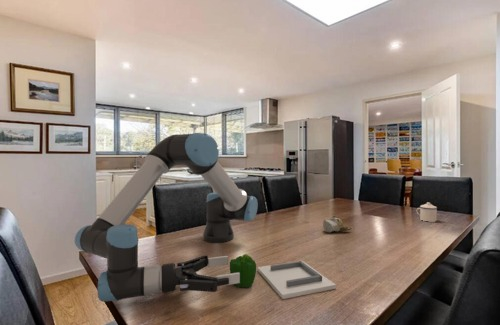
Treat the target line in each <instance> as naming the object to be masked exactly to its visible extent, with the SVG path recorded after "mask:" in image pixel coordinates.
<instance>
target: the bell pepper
mask: <svg viewBox="0 0 500 325" xmlns="http://www.w3.org/2000/svg"><path fill="white" fill-rule="evenodd" d="M229 272H230V273H229V274H232V273H240V283H236V284H233V286H235V287H237V288H240V287H242V288H250V287H251V286H252V285H253V284H254V282H255V279H256V275H257V262H256V260H254V259H253V257H252V256H250V255H249V254H246V253H245V254H243V255H240V256H237V257H236V258H233V259H231V260H230V261H229Z"/></svg>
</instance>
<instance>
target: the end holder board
mask: <svg viewBox="0 0 500 325" xmlns="http://www.w3.org/2000/svg"><path fill="white" fill-rule="evenodd" d="M257 272H258V273H259V274H260V276H262V277H263V278H264V280H265V281H266V282H267V284H269V285H270V286H271V288H272V289H273V290H274V291H275V292H276V294H278V296H279V297H280V298H281V299H282V300H285V299H289V298H295V297H299V296H305V295H311V294H315V293H321V292H326V291H329V290H334V289H335V290H336V288H337V284H336V283H334V282H333V281H331V280H330V279H329V278H327V277H326V276H325V275H323V274H321V273H320V272H319V271H318V270H316V269H315V268H313V267H312V266H310V265H309V264H308V263H306V262H305V261H304V260H298V261H292V262H284V263H278V264H270V265H262V266H258V267H257Z"/></svg>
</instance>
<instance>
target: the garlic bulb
mask: <svg viewBox="0 0 500 325" xmlns="http://www.w3.org/2000/svg"><path fill="white" fill-rule="evenodd" d="M322 222H323V223H322V225H323V226H322V229H323V231H324V232H326V233H327V232H328V233H327V234H330V233H332V232H334V231H335V232H336V233H337V232H348V231H350V230H351V229H352V227H348V226H347V225H344V223H343V221H342V219H341V218H338V217H336V216H335V215H333V216H330V217H329V220H327V219H323V221H322Z"/></svg>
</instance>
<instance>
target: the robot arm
mask: <svg viewBox="0 0 500 325" xmlns="http://www.w3.org/2000/svg"><path fill="white" fill-rule="evenodd" d="M218 147H219V146H218V143H217V141H216V139H215V138H214V137H213V136H212V135H210V134H208V133H205V132H202V133H201V132H194V133H184V134H183V133H182V134H171V135H169V136H167V137H165V138H164V139H162V140H161V141H160V142H158V143H157V144H156V145H154V147H153V148H151V150H150V151H149V152H148V153H147V154H146V155H145V156H144V162H143V163H142V165H141V166H140V167H139V168H138V170H137V171H136V172H135V174H133V176H132V177H131V178H130V179H129V180H128V181H127V183H126V184H125V185H124V186H123V188H122V189H121V190H120V191H119V193H117V194H116V196H115V197H114V199H112V201H111V202H110V203H109V204H108V205H107V207H106V208H105V209H104V210H103V211H102V213H100V215H99V216H98V217H97V218H96V219H95V221H94V222H93V223H92V224H91V225H85V226H83V227H80V229H79V230H78V231H77V232H76V234H75V236H74V244H75V246H76V247H77V249H79V250H81V251H83V252H84V253H86V254H91V255H94V256H97V257H101V258H104V259H106V260H107V262H106V263H107V264H106V267H107V270H106V271H102V272H101V273H100V274H99V276H98V281H97V290H96V291H97V298H98V301H101V302H105V303H106V302H112V301H113V302H114V301H116V302H117V301H120V300H125V299H131V298H137V297H138V298H139V297H145V296H149V297H151V296H152V295H155V294H156V295H157V294H159V293H160V291H161V292H162V293H163V294H164V293H170V292H175V291H176V288H177V286H179V291H180V292H184V291H186V292H187V291H191V292H193V291H194V292H207V293H209V292H210V293H216V292H217V291H218V287H222V286H223V287H224V286H229V285H234V284H236V283H240V273H232V274H230V273H227V274H220V275H219V274H218V275H216V277H213V276H208V275H204V274H203V275H202V274H199V273H197V272H199V271H201V270H202V269H204V268H207V267H208V268H213V267H220V266H227V265H229V256H228V255H225V256H224V255H223V256H214V257H209V256H208V255H207V254H206V255H201V256H198V257H195V258H192V259H190V260H186V261H181V262H178V263H176V264H175V263H174V262H170V263H169V262H168V263H163V264H162V265H161V266H160V264H153V265H147V266H139V261H138V260H139V254H138V253H139V251H138V250H139V237H138V235H139V234H138V228H137V226H135V225H134V224H132V223H131V224H130V223H129V224H126V223H127V222H128V220H129V219H130V218H131V216H132V215H133V214H134V212H135V211H136V210H137V208H139V206H140V204H142V202H143V201H144V199H145V198H146V197H147V196H148V195H149V193H150V191H151V190H152V189H153V187H154V186H155V185H156V183H157V182H158V181H159V180H160V178H161V177H162V176H163V174H168V172H169V171H170V170H171V169H172V168H173V167H175V166H184V167H185V166H186V167H187V168H188V169H189V170H190V171H191V172H192V173H193V174H194V175H197V176H200V177H202V179H204V181H205V182H206V183H207V184H208V185H209V187H211V188H212V189H213V191H214V192H210V193H207V195H206V202H205V203H206V208H205V209H206V225H205V227H204V231H203V234H202V237H203V238H202V239H203V241H206V242H208V243H214V244H215V243H227V242H229V241H231V240H233V239H234V230H233V227H232V224H231V220H234V221H243V222H252V221H253V220H254V219H255V218H256V216H257V213H258V205H259V204H258V202H259V201H258V199H257V198H256V197H255V196H253V195H248V194H247V192H246V190H244V189H243V188H239V187H238V186H237V184H236V183H235V182H234V181H233V179H232V178H231V177H230V175H229V174H228V173H227V172H226V170H225V169H224V168H223V166H222V165H221V163H220V162H219V155H220V154H219V153H220V152H219V151H220V150H219V149H218Z"/></svg>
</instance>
